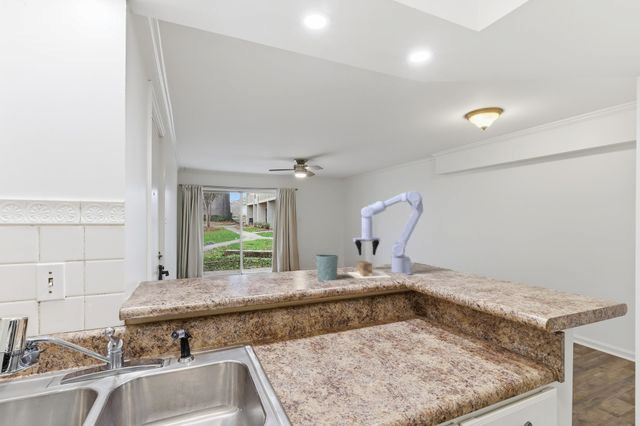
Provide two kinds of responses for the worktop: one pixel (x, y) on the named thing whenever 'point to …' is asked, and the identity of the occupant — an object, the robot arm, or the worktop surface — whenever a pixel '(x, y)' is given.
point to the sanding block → (364, 268)
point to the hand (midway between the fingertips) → (367, 254)
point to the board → (374, 275)
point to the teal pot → (327, 267)
